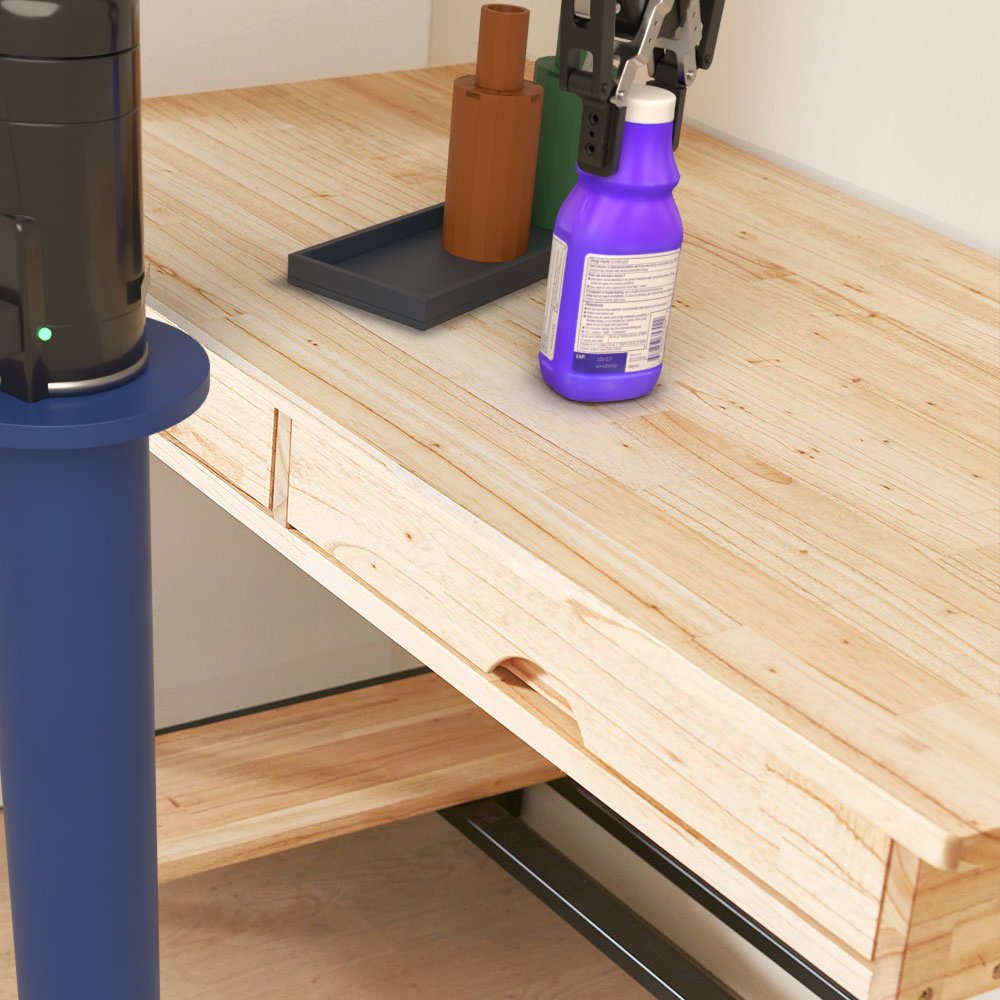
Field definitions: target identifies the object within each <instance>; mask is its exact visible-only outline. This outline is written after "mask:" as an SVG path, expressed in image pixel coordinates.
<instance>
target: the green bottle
mask: <svg viewBox="0 0 1000 1000" xmlns="http://www.w3.org/2000/svg"><path fill="white" fill-rule="evenodd" d="M558 20H559V21H558V30H557V31H558V32H557V40H556V41H557V42H556V50H555V55H546V56H542V57H538V58H537V59H535V61H534V68H533V78H532V82H535V83H537V84H539V85H541V86H542V88H543V89H544V95H543V105H542V114H541V124H540V134H539V144H538V153H537V163H536V173H535V183H534V192H533V202H532V212H531V222H530V224H531V225H534V226H537V227H540V228H544V229H549V230H554V228H555V222H556V219H557V215H558V212H559V210H560V208H561V206H562V204H563V203H564V201H565V199H566V198H567V196H568V195H569V193H570V192H571V191H572V189H573V188H574V187H575V185H576V184H577V182H578V173H577V171H576V161H577V156H578V146H579V138H580V129H581V120H582V111H583V101H582V98H579V97H578V96H577V95H576V94H574V93H572V92H566V91H562V90H561V89H560V87H559V63H560V32H561V9H560V11H559V19H558ZM586 56H587V51H585V50H581V49H580V69H581V70H582V67H583V65H584V62H585V59H586ZM617 68H618V66H616V65H614V64H613V74H612V80H613V79H614V77H615V74H616V71H617Z"/></svg>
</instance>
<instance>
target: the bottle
mask: <svg viewBox="0 0 1000 1000" xmlns="http://www.w3.org/2000/svg"><path fill="white" fill-rule="evenodd" d="M675 103H676V96H675V95H674V94H673V93H672V92H670V91H668V90H665V89H662V88H659V87H654V86H649V85H646V84H642V83H634V82H632V85H631V88H630V91H629V94H628V97H627V100H626V102H625V104H624V105H623V106H625V107H627V109H626V117H625V125H624V133H623V141H622V148H621V156H620V164H619V170H618V172H617V173H616V174H614V175H611V176H608V177H602V176H598V175H594V174H591V173H587V172H584V171H582V170H580V169H579V167H578V165H577V161H576V171H577V173H578V182H577V184H576V185H575V187H574V188H573V189H572V191H571V192H570V193H569V195H568V196H567V198H566V199H565V201H564V203H563V204H562V206H561V208H560V210H559V212H558V215H557V219H556V222H555V228H554V232H553V240H552V249H551V257H550V265H549V273H548V276H547V281H546V290H545V299H544V307H543V315H542V323H541V332H540V339H539V351H538V366H539V370H540V373H541V377H542V380H543V381H544V382H545V383H546V384H547V385H548V386H549V387H550V388H551V389H553V390H554V391H555V392H556V393H558V394H559V395H561V396H563V397H564V398H565V399H569V400H571V401H576V402H581V403H604V402H617V401H625V400H632V399H636V398H639V397H643V396H645V395H647V394H650V393H651V392H652V391H653V390H654V388H655V386H656V385H657V382H658V380H659V378H660V375H661V372H662V368H663V361H664V356H665V352H666V343H667V337H668V330H669V324H670V318H671V312H672V306H673V300H674V296H675V288H676V281H677V276H678V270H679V265H680V258H681V251H682V245H683V241H684V226H683V221H682V216H681V214H680V210H679V208H678V207H679V206H678V205H677V203H676V200H675V198H674V194H673V192H674V191H673V190H674V189H675V188H676V187H677V186H678V185H679V182H680V180H681V172H680V171H679V169H678V166H677V163H676V159H675V155H674V152H673V147H672V131H673V119H674V110H675Z"/></svg>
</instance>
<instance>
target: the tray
mask: <svg viewBox="0 0 1000 1000" xmlns="http://www.w3.org/2000/svg"><path fill="white" fill-rule="evenodd" d="M444 205H445V200H444V201H442V202H438V203H435V204H432V205H429V206H427V207H424V208H420V209H417V210H415V211H412V212H409V213H406V214H403V215H399V216H397V217H394V218H391V219H388V220H384V221H382V222H379V223H377V224H373V225H370V226H367V227H364V228H362V229H361V228H360V229H359V230H356V231H353V232H349V233H347V234H343V235H341V236H337V237H335V238H332V239H329V240H326V241H322V242H321V243H317V244H314V245H311V246H308V247H305V248H302V249H299V250H296V251H294V252H290V253H288V254H287V280H286V281H287V284H289V285H293V286H295V287H299V288H300V289H301V288H302V289H305V290H307V291H310V292H313V293H315V294H318V295H321V296H324V297H327V298H329V299H333V300H335V301H339V302H341V303H344V304H346V305H349V306H353V307H355V308H358V309H361V310H364V311H366V312H369V313H372V314H375V315H378V316H381V317H383V318H387V319H389V320H392V321H395V322H398V323H400V324H403V325H406V326H408V327H411V328H415V329H418V330H419V331H426V330H428V329H430V328H432V327H435V326H436V325H439V324H441V323H444V322H447V321H449V320H451V319H454V318H455V317H458V316H460V315H462V314H464V313H467V312H469V311H472V310H474V309H476V308H478V307H481V306H483V305H485V304H487V303H490V302H492V301H494V300H497V299H499V298H501V297H503V296H506V295H508V294H510V293H513V292H515V291H518V290H520V289H521V288H525V287H526V286H529V285H531V284H533V283H536V282H538V281H540V280H543V279H545V278H548V273H549V265H550V257H551V249H552V240H553V232H554V230H549V229H544V228H540V227H537V226H534V225H531V224H530V231H529V241H528V251H527V253H526V255H523V256H521V257H518V258H516V259H513V260H511V261H509V262H502V263H492V262H478V261H472V260H466V259H463V258H460V257H457V256H454V255H452V254H450V253H449V252H447V251H445V250H444V248H443V246H442V232H443V219H444Z"/></svg>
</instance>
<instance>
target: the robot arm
mask: <svg viewBox="0 0 1000 1000" xmlns="http://www.w3.org/2000/svg"><path fill="white" fill-rule="evenodd" d="M140 1H141V0H0V391H2V392H4V393H6V394H9V395H11V396H13V397H15V398H18V399H20V400H22V401H24V402H27V403H35V402H38V401H40V400H43V399H47V398H54V397H72V396H82V395H89V394H95V393H100V392H104V391H108V390H112V389H115V388H118V387H121V386H123V385H125V384H128V383H129V382H131V381H133V380H135V379H136V378H138V377H139V376H140V375H141V374H142V373H143V372H144V371H145V370H146V368H147V366H148V361H149V359H148V344H147V341H146V317H147V315H146V312H147V311H146V297H147V294H148V291H149V288H150V286H151V261H149V262H148V266H147V268H146V267H145V266H146V263H145V262H146V261H145V218H144V217H145V216H144V215H145V214H144V211H145V210H144V170H143V169H144V168H143V163H144V161H143V119H142V117H143V115H142V112H143V111H142V100H143V99H142V58H141V56H142V55H141V42H140V41H141V2H140ZM725 4H726V0H561V2H560V10H561V32H560V63H559V87H560V89H561V90H562V91H566V92H572V93H574V94H576V95H577V96H578V97H579V98H582V101H583V111H582V120H581V129H580V138H579V146H578V156H577V165H578V167H579V169H580V170H582V171H584V172H587V173H591V174H594V175H598V176H602V177H608V176H611V175H614V174H616V173H617V172H618V170H619V164H620V156H621V148H622V141H623V133H624V125H625V117H626V109H627V107H625V106H623V105H624V104H625V102H626V100H627V97H628V94H629V91H630V88H631V85H632V83H634V79H635V76H636V74H637V71H638V69H640V68H642V67H645V66H646V67H647V68H646V69H647V75H648V77H649V78H652V79H650V80H646V81H645V85H649V86H654V87H659V88H662V89H665V90H668V91H670V92H672V93H673V94H674V95H675V96H676V103H675V110H674V119H673V131H672V147H673V153H675V152H676V151H677V150H678V148H679V147H680V139H681V131H682V124H683V119H684V110H685V104H686V97H687V89H688V88H687V87H691V86H692V85H693V84H694V83H695V81H696V77H697V72H698V70H699V69H700V70H703V71H707V70H709V69H710V67H711V65H712V63H713V60H714V55H715V51H716V47H717V41H718V37H719V33H720V27H721V23H722V18H723V13H724V9H725ZM615 38H617V39H615ZM618 39H622V40H618ZM623 40H627V41H623ZM580 49H581V50H585V51H587V56H586V59H585V62H584V65H583V67H582V70H581V69H580ZM614 60H615V61H619V62H618V65H617V71H616V74H615V77H614V79H613V80H612V74H613V65H614ZM145 268H146V269H145Z"/></svg>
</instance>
